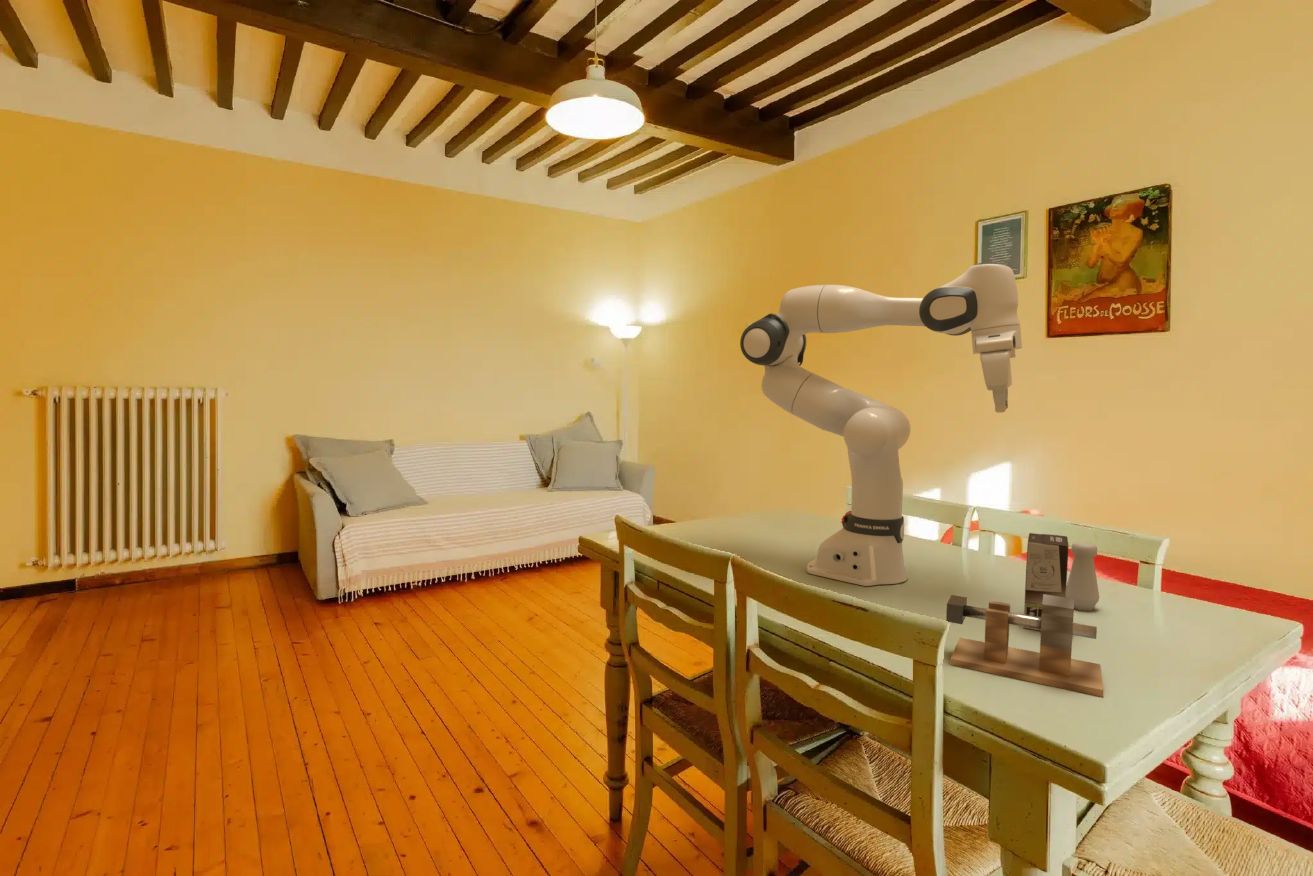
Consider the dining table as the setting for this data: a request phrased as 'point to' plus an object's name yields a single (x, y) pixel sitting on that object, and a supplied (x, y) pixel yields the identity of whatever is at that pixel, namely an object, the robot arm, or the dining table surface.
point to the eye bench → (1028, 665)
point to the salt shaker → (1083, 577)
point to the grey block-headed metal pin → (960, 610)
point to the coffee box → (1045, 570)
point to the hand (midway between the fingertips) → (1002, 410)
